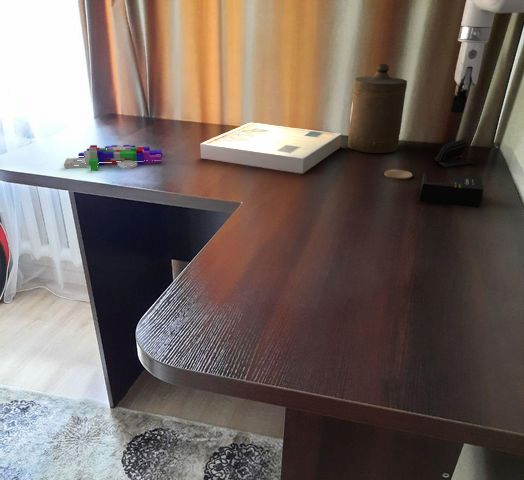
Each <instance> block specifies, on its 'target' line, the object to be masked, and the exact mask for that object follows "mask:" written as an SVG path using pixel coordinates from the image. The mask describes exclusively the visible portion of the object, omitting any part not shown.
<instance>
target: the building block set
mask: <svg viewBox="0 0 524 480" xmlns="http://www.w3.org/2000/svg"><path fill="white" fill-rule="evenodd" d="M106 148H107V150H106ZM150 148H151V147H150V146H144V145H138V146H136V145H133V144H131V145H130V144H123V145H118V144H115V145H114V144H111V145H107V146H106V145H105V146H104V147H98V145H97V144H91V145H89V148H86V150H83V152H78V155H77V156H84V157H70V158H69V157H68V158H66V159H65V160H64V162H63V166H64V169H83V168H85V169H86V168H87V167H89V168H90V171H91V172H94V171H95V172H96V171H97V172H98V170H99V167H100V166H117V167H118V168H120V169H123V170H130V169H134V168H136V167H138V166H142V165H146V164H148V165H149V164H162V163H163V162H162V161H154V160H162V157H163V152H162V150H161V149H152V150H151V149H150ZM156 154H161V155H156ZM77 160H82V161H77ZM144 160H145V161H144ZM146 160H148V161H146ZM152 160H153V161H152ZM116 161H121V162H116ZM135 161H144V162H135ZM99 162H112V163H99ZM85 163H86V164H85ZM98 163H99V164H98ZM135 163H137V164H135ZM118 164H120V165H118ZM133 164H135V165H133ZM74 165H79V166H74ZM121 165H123V166H127V167H123V166H121ZM130 165H133V166H130ZM97 166H98V167H97Z"/></svg>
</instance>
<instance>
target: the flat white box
mask: <svg viewBox="0 0 524 480" xmlns="http://www.w3.org/2000/svg"><path fill="white" fill-rule="evenodd" d="M342 137H343V134H342V133H339V132H330V131H322V130H314V129H313V130H312V129H307V128H305V129H304V128H298V127H289V126H281V125H271V124H265V123H256V122H255V123H254V122H249V123H246V124H244V125H241V126H239V127H237V128H235V129H232V130H229V131H228V132H225V133H222V134H220V135H218V136H215V137H212V138H211V139H208V140H206V141H203V142H201V143H199V148H200V158H201V159H204V160H211V161H218V162H225V163H231V164H237V165H243V166H250V167H257V168H262V169H263V168H264V169H268V170H269V169H270V170H275V171H282V172H288V173H295V174H302V175H303V174H305V173H306V172H307V171H309V170H310V169H311V168H313V167H315V166H316V165H317V164H318V163H320V162H322V161H323V160H324V159H326V158H327V157H329V156H330V155H331V154H333V153H334V152H335V151H337V150H339V149H340V148H341V145H342Z"/></svg>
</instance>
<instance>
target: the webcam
mask: <svg viewBox="0 0 524 480" xmlns="http://www.w3.org/2000/svg"><path fill="white" fill-rule="evenodd" d="M467 147H468V142H467V141H466V140H465V139H459V140H456V141H452V142H449V143H446V144H444V145H443V146H442V147H441V149H440V150H439V152H438V154H437V155H436V156H434V160H435V161H436V162H437V163H438V164H439V165H441V166H443V167H445V168H454V167H462V166H470V165H473V162H472V161H470V160H468V159H465V158H463V156H462V155H463V154H464V153H465V151H466V149H467Z"/></svg>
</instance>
